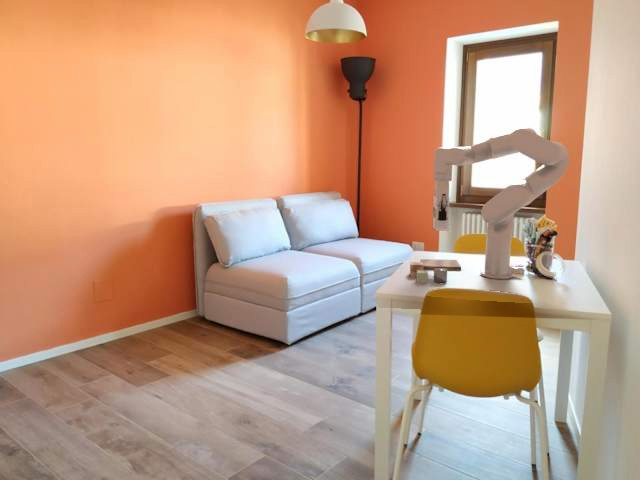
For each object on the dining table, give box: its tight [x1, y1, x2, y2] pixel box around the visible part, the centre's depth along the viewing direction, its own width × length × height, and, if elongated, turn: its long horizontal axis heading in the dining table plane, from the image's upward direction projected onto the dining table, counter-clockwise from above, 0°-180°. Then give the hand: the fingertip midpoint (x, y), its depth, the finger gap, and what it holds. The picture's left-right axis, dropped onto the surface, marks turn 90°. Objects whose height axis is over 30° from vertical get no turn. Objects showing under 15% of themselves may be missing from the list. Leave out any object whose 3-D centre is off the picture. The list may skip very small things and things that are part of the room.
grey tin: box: [433, 268, 448, 284], centre depth 203 cm, size 5×5×5 cm
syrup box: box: [432, 195, 450, 232], centre depth 222 cm, size 6×6×14 cm
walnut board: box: [420, 258, 462, 271], centre depth 230 cm, size 16×14×2 cm
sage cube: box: [416, 270, 429, 284], centre depth 204 cm, size 4×4×4 cm
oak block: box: [409, 261, 424, 278], centre depth 214 cm, size 5×5×5 cm
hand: (441, 218), depth 223 cm, fingers closed on syrup box, 6 cm apart
